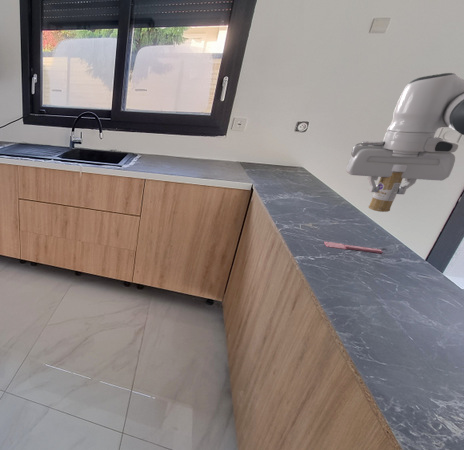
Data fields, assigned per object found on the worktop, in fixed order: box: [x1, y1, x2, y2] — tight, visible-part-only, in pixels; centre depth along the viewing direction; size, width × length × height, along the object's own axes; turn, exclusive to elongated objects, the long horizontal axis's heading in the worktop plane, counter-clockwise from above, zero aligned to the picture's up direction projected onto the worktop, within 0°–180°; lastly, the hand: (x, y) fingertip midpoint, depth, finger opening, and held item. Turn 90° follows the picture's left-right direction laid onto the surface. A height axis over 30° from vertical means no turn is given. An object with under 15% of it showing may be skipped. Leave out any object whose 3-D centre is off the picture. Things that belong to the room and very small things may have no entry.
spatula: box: [323, 241, 383, 255], centre depth 99 cm, size 14×4×1 cm, turn 65°
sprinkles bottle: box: [368, 165, 407, 213], centre depth 86 cm, size 5×5×13 cm
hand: (385, 192), depth 87 cm, fingers closed on sprinkles bottle, 4 cm apart
